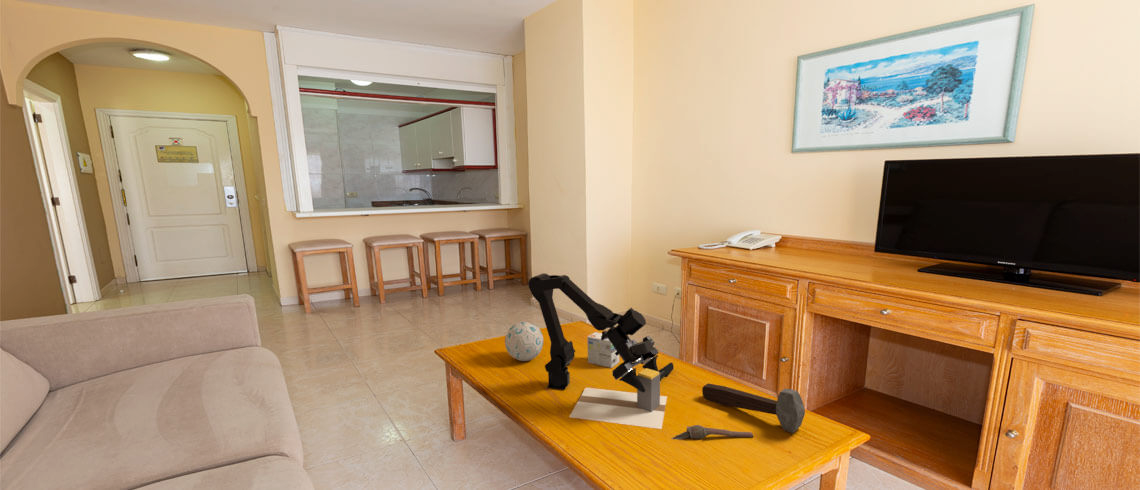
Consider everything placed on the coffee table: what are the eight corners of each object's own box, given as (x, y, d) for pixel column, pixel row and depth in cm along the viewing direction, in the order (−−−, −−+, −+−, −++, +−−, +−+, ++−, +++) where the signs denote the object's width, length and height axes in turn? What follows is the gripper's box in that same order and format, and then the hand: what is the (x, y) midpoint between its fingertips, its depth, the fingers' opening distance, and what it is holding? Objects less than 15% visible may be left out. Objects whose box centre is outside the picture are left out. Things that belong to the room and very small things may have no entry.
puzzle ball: (523, 349, 194) (522, 315, 192) (551, 357, 185) (550, 321, 183) (497, 361, 182) (496, 324, 180) (526, 370, 173) (525, 331, 171)
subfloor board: (569, 419, 137) (569, 416, 137) (585, 389, 156) (585, 387, 156) (661, 431, 130) (661, 428, 130) (667, 398, 149) (667, 396, 149)
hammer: (702, 411, 148) (799, 436, 126) (698, 376, 148) (795, 395, 125) (710, 405, 151) (806, 429, 129) (707, 372, 151) (802, 390, 128)
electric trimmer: (676, 371, 171) (676, 363, 170) (657, 386, 159) (657, 377, 158) (666, 369, 173) (667, 361, 173) (647, 383, 161) (647, 374, 160)
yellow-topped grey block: (637, 406, 142) (637, 372, 141) (645, 400, 146) (645, 367, 144) (651, 412, 139) (651, 377, 137) (659, 405, 143) (660, 371, 141)
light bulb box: (619, 362, 179) (619, 335, 177) (611, 368, 173) (611, 341, 172) (595, 357, 184) (595, 331, 183) (587, 363, 179) (586, 336, 177)
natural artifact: (670, 443, 127) (668, 427, 128) (752, 437, 127) (749, 422, 129) (673, 442, 123) (670, 426, 125) (757, 436, 123) (753, 420, 125)
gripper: (620, 338, 135) (653, 384, 129) (653, 322, 149) (684, 363, 143) (599, 357, 141) (629, 402, 135) (633, 340, 155) (661, 380, 149)
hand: (652, 386), depth 141 cm, fingers open, 9 cm apart
